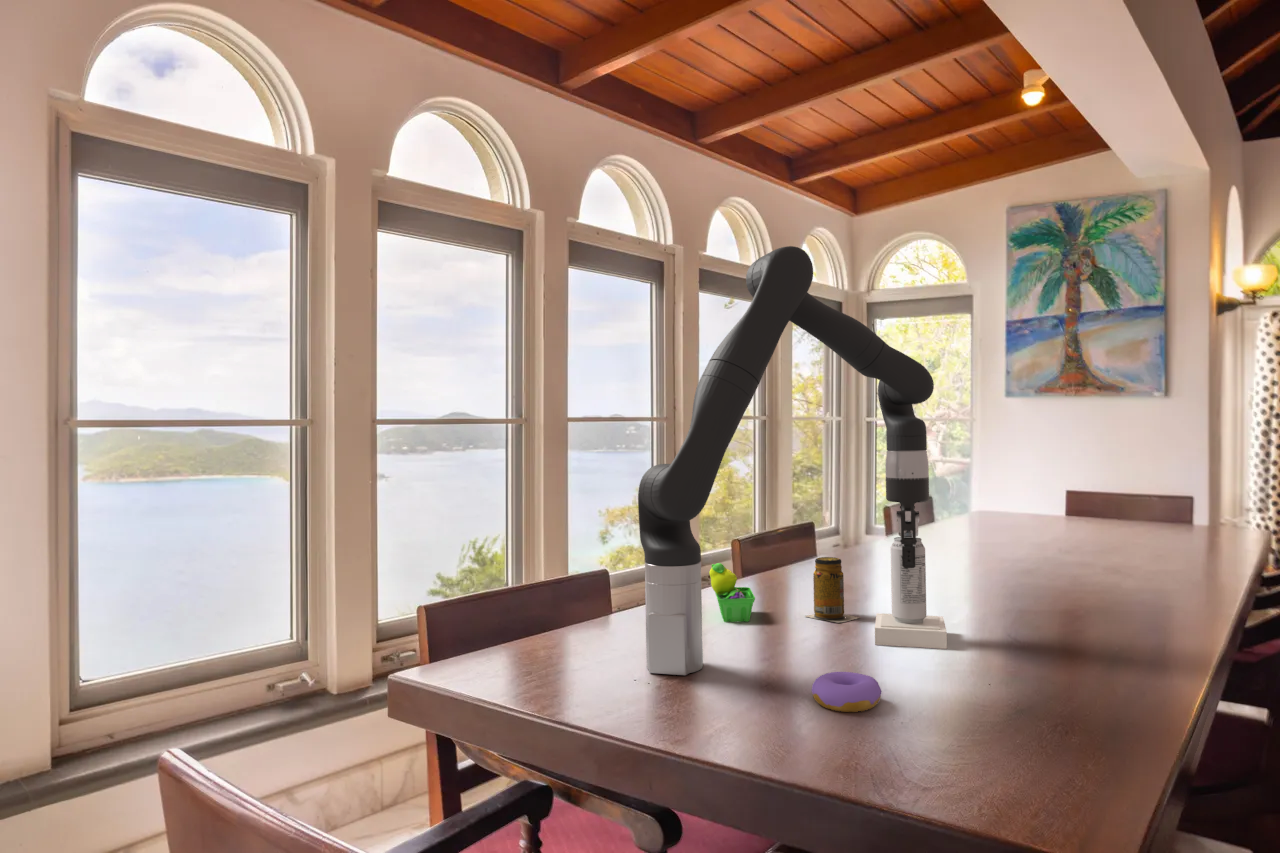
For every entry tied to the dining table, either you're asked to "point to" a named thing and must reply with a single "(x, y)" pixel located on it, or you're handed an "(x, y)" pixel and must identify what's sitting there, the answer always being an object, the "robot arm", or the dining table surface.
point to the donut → (846, 691)
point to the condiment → (829, 591)
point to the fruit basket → (731, 595)
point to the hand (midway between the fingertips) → (908, 564)
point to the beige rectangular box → (911, 632)
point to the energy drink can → (908, 585)
